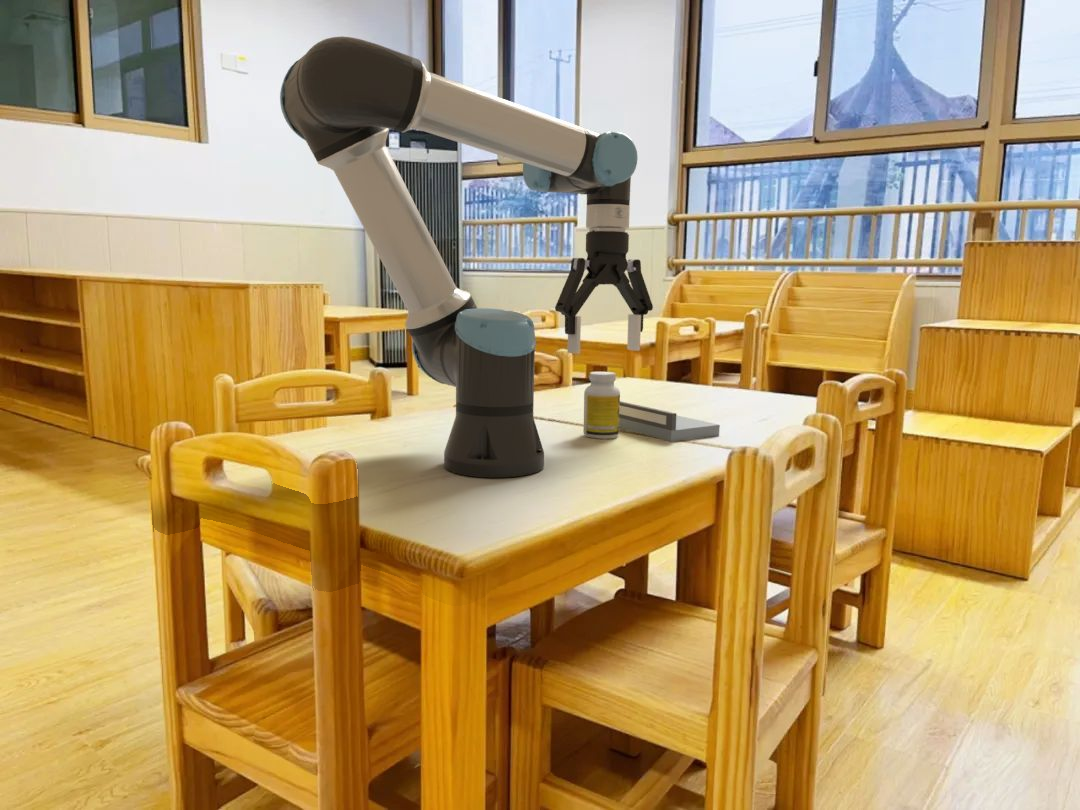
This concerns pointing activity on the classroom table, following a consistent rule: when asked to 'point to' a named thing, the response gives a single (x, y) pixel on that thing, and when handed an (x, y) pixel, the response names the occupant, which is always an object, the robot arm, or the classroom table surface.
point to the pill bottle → (601, 406)
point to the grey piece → (663, 423)
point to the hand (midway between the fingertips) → (604, 351)
